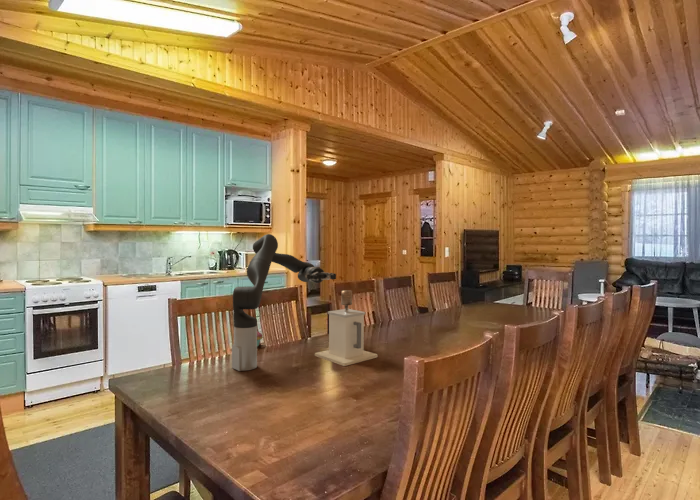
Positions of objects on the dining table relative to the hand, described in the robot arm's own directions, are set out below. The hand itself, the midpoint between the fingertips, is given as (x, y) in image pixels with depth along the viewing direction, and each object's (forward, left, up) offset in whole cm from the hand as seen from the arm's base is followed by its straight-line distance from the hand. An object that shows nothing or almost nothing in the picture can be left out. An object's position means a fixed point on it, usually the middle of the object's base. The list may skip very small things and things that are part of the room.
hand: (325, 277), depth 208 cm
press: (0, -15, -34) cm, 37 cm away
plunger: (0, -15, -28) cm, 32 cm away
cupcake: (-22, +28, -35) cm, 50 cm away
